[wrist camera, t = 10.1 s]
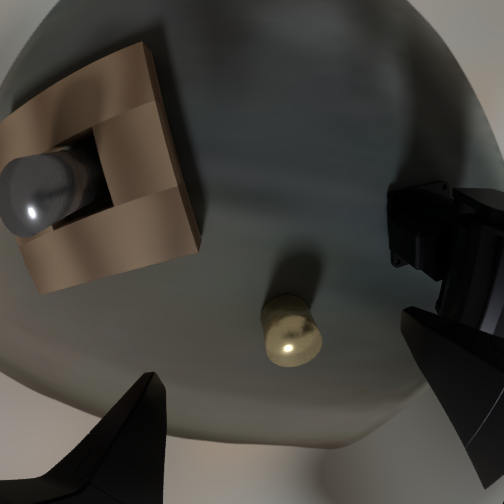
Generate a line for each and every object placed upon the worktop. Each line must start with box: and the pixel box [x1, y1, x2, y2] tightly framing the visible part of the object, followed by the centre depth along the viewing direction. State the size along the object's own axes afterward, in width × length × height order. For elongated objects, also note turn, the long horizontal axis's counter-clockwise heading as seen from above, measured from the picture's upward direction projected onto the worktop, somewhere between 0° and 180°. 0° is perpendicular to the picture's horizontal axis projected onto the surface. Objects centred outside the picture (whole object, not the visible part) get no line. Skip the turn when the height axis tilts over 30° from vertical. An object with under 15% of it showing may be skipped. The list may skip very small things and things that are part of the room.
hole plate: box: [0, 41, 202, 295], centre depth 16 cm, size 14×14×2 cm
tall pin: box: [0, 148, 108, 238], centre depth 14 cm, size 4×4×8 cm
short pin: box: [261, 295, 322, 367], centre depth 21 cm, size 4×4×4 cm
